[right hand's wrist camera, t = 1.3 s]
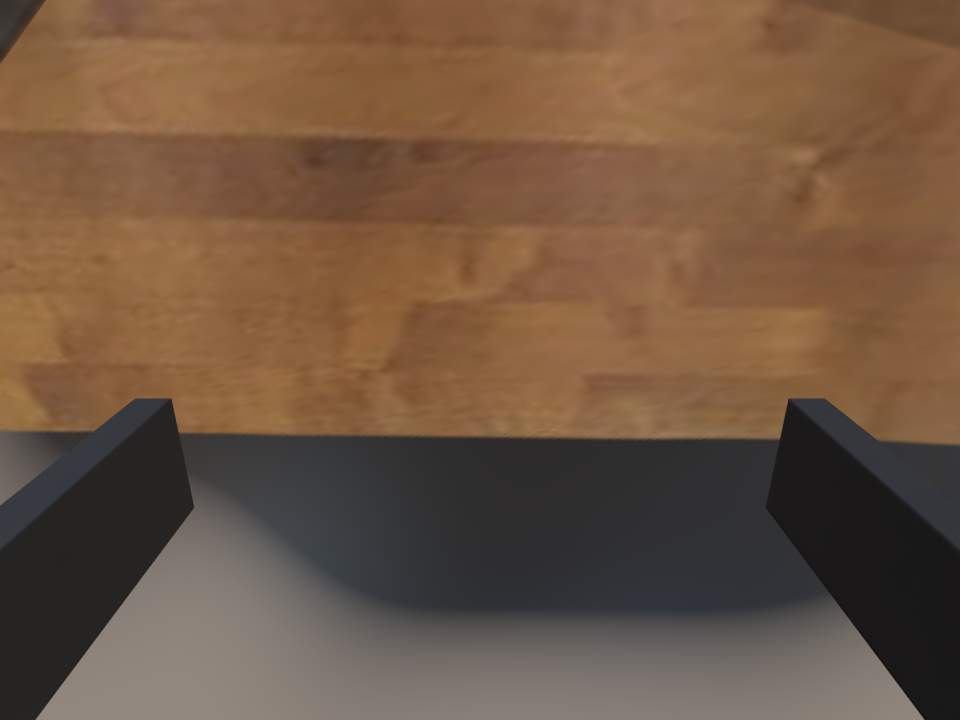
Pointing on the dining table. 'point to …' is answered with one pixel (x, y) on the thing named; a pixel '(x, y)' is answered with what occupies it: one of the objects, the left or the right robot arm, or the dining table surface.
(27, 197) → the dining table surface
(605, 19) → the dining table surface
